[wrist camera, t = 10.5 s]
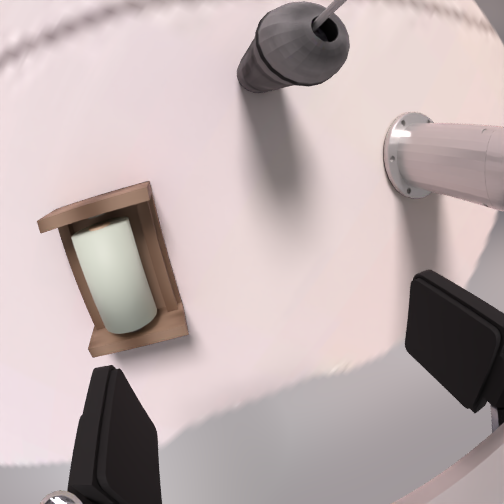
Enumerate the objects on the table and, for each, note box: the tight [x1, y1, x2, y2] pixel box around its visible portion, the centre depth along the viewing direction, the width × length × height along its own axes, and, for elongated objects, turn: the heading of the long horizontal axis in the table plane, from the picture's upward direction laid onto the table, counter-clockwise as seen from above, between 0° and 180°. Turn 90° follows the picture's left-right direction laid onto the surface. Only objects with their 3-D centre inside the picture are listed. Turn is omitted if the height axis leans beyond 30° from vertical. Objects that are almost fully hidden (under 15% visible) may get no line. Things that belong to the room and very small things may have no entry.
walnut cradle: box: [37, 181, 189, 357], centre depth 30 cm, size 11×15×6 cm
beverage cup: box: [237, 0, 350, 93], centre depth 21 cm, size 7×7×20 cm
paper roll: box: [71, 217, 157, 334], centre depth 29 cm, size 10×6×6 cm, turn 11°
